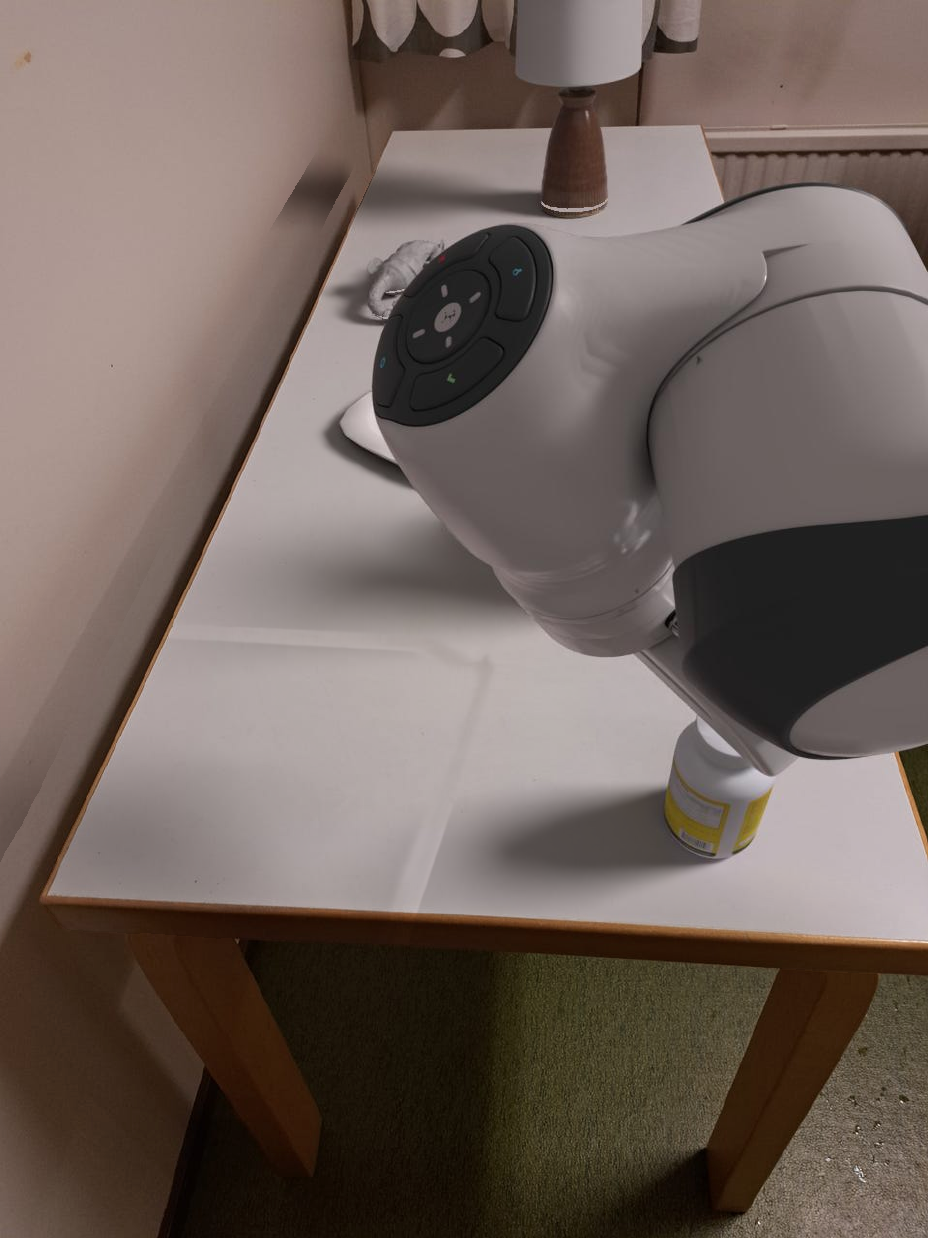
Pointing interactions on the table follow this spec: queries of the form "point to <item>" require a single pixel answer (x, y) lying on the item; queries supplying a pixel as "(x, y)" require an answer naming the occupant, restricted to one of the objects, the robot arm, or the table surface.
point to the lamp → (577, 86)
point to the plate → (365, 428)
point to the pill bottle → (713, 794)
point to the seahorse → (399, 271)
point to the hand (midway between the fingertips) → (676, 660)
